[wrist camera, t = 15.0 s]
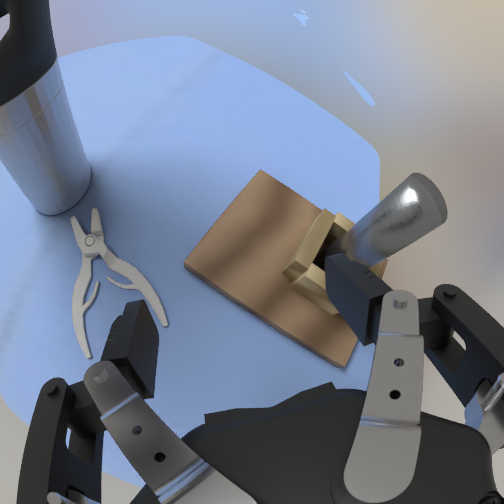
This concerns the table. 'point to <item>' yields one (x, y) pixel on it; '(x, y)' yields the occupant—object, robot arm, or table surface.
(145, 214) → the table surface
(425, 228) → the steel pin
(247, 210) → the socket board
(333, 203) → the table surface
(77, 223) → the pliers
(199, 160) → the table surface
